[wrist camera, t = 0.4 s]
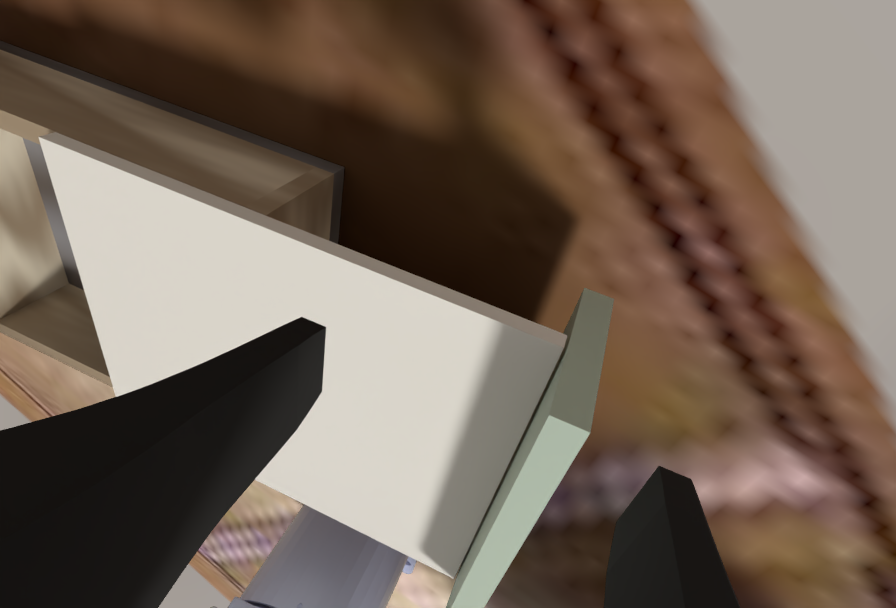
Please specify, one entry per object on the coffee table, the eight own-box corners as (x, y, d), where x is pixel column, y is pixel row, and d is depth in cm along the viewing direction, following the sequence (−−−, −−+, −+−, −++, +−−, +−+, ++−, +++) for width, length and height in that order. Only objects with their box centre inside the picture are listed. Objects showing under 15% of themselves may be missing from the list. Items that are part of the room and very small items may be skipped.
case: (325, 397, 29) (270, 464, 25) (73, 282, 32) (-11, 327, 28) (344, 167, 20) (265, 215, 16) (-2, 39, 23) (-139, 54, 19)
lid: (497, 524, 25) (456, 652, 20) (172, 370, 28) (73, 451, 23) (614, 299, 16) (590, 432, 12) (124, 113, 19) (-49, 160, 15)
